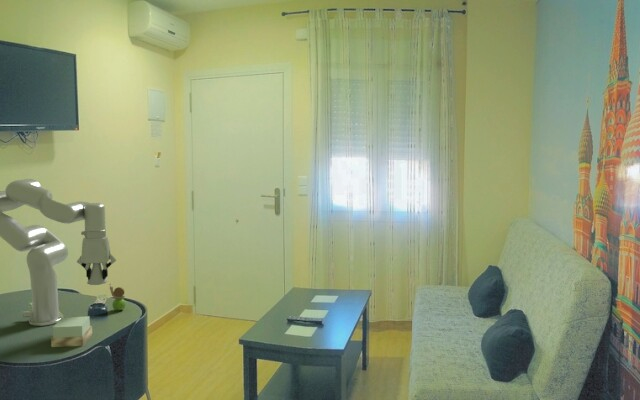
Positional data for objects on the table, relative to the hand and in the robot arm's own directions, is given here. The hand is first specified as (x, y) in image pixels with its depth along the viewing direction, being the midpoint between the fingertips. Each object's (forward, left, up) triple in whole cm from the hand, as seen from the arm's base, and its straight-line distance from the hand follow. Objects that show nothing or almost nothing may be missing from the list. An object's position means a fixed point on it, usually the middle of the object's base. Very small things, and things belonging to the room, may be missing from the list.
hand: (97, 278), depth 210 cm
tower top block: (-5, -16, -16) cm, 23 cm away
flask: (0, 0, -2) cm, 2 cm away
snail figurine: (+4, +16, -19) cm, 25 cm away
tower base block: (-5, -16, -20) cm, 26 cm away
